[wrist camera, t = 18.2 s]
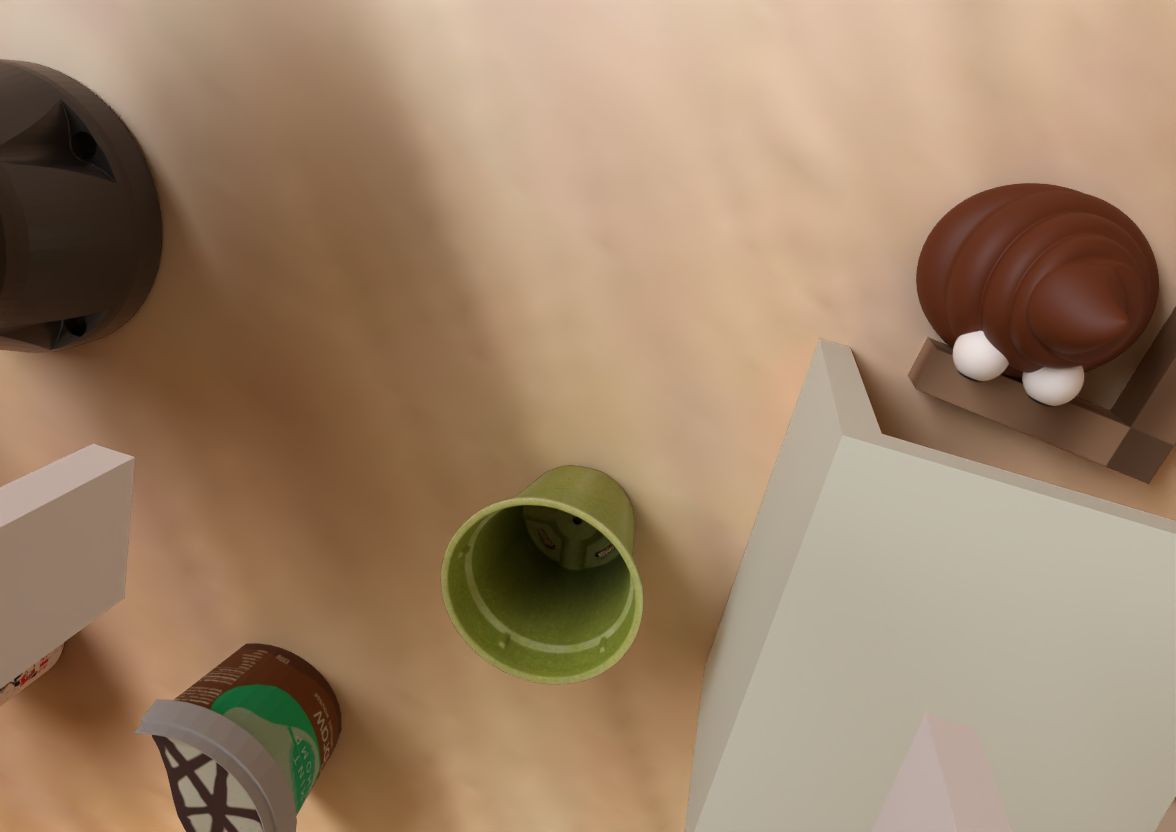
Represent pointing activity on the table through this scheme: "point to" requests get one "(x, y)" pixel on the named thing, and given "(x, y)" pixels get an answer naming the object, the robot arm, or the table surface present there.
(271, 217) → the table surface
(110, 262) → the robot arm
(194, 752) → the food container
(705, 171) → the table surface
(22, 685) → the teacup with lid
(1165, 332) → the crook
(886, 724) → the nook
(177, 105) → the table surface
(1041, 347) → the poop emoji toy
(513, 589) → the plant pot
